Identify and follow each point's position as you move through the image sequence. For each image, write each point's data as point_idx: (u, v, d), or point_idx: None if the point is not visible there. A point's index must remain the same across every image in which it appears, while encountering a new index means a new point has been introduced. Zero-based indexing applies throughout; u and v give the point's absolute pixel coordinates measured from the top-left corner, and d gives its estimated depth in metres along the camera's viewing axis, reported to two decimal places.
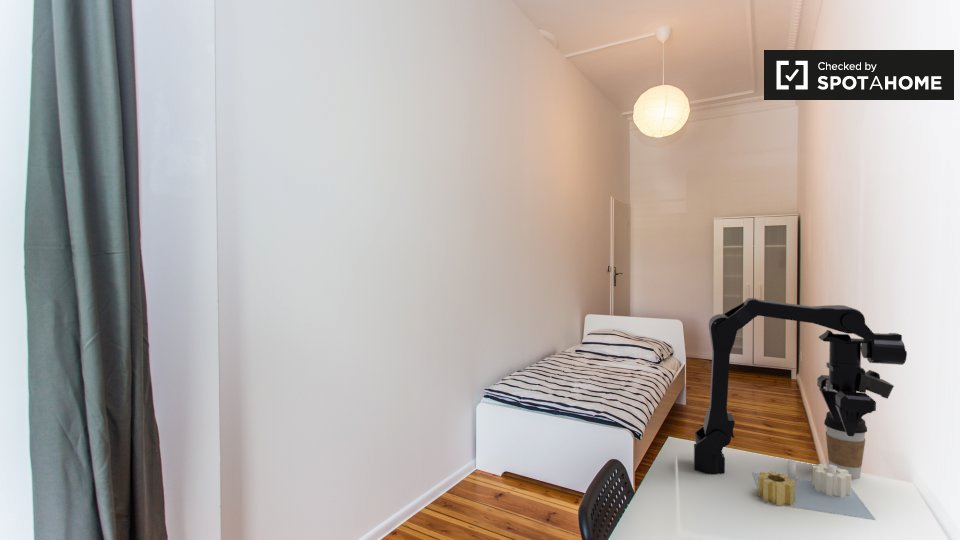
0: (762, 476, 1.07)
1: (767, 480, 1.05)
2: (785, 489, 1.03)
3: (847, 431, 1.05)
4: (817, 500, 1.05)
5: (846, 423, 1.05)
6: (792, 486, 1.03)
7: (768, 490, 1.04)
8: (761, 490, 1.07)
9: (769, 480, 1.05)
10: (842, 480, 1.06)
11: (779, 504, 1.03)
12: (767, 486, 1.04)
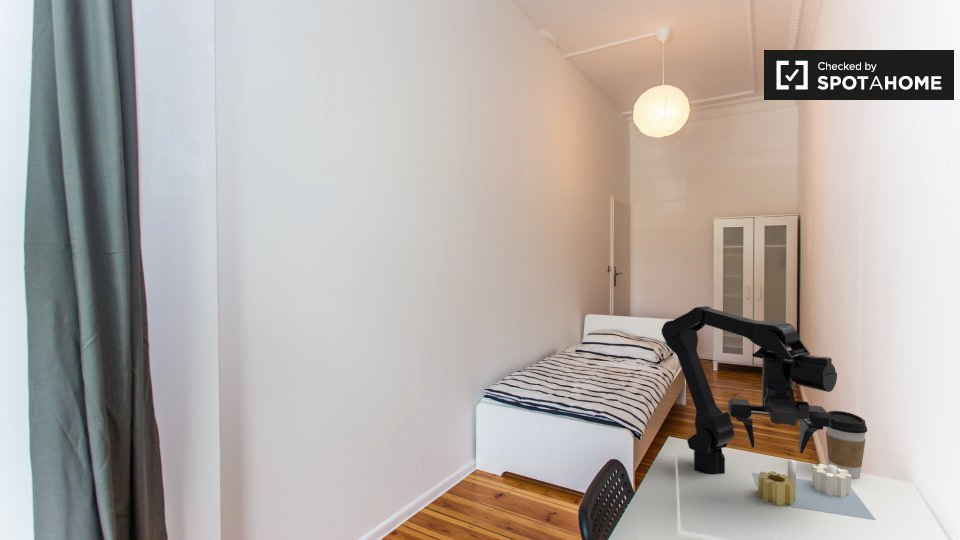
0: (762, 476, 1.07)
1: (767, 480, 1.05)
2: (785, 489, 1.03)
3: None
4: (817, 500, 1.05)
5: None
6: (792, 486, 1.03)
7: (768, 490, 1.04)
8: (761, 490, 1.07)
9: (769, 480, 1.05)
10: (842, 480, 1.06)
11: (779, 504, 1.03)
12: (767, 486, 1.04)
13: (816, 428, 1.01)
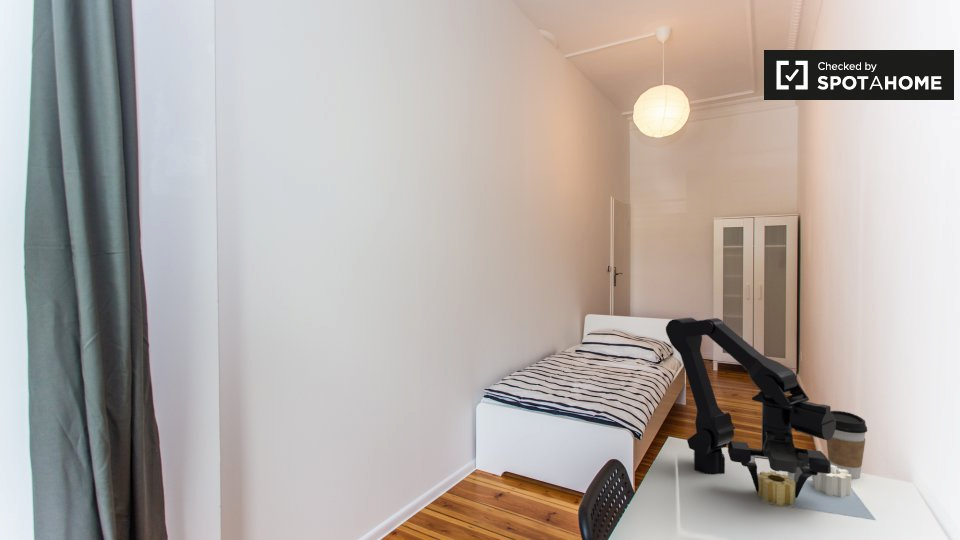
0: (762, 476, 1.07)
1: (767, 480, 1.05)
2: (785, 489, 1.03)
3: (754, 484, 1.08)
4: (817, 500, 1.05)
5: (751, 475, 1.09)
6: (792, 486, 1.03)
7: (768, 490, 1.04)
8: (761, 490, 1.07)
9: (769, 480, 1.05)
10: (842, 480, 1.06)
11: (779, 504, 1.03)
12: (767, 486, 1.04)
13: (810, 474, 1.01)
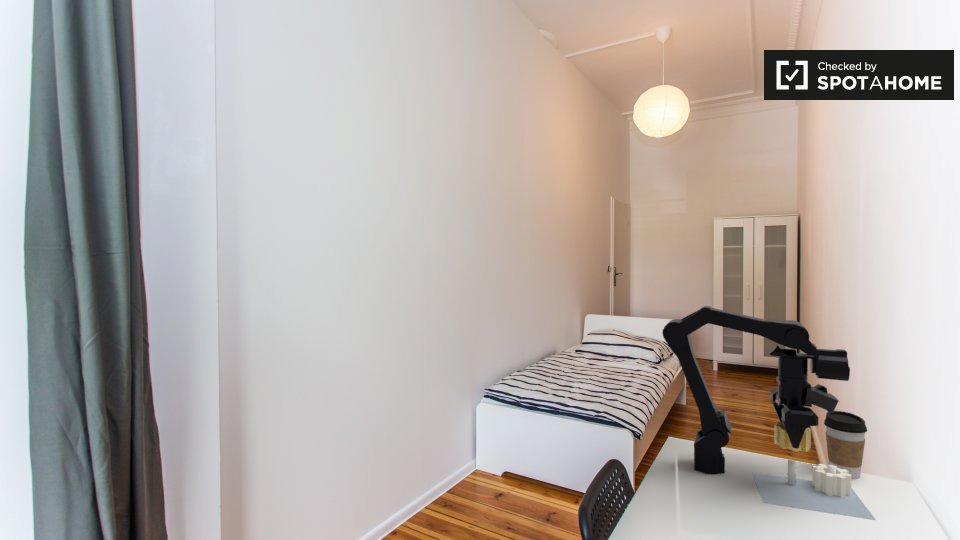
0: None
1: None
2: None
3: (792, 443, 1.08)
4: (817, 500, 1.05)
5: (791, 435, 1.08)
6: None
7: None
8: None
9: None
10: (842, 480, 1.06)
11: None
12: (808, 435, 1.09)
13: None
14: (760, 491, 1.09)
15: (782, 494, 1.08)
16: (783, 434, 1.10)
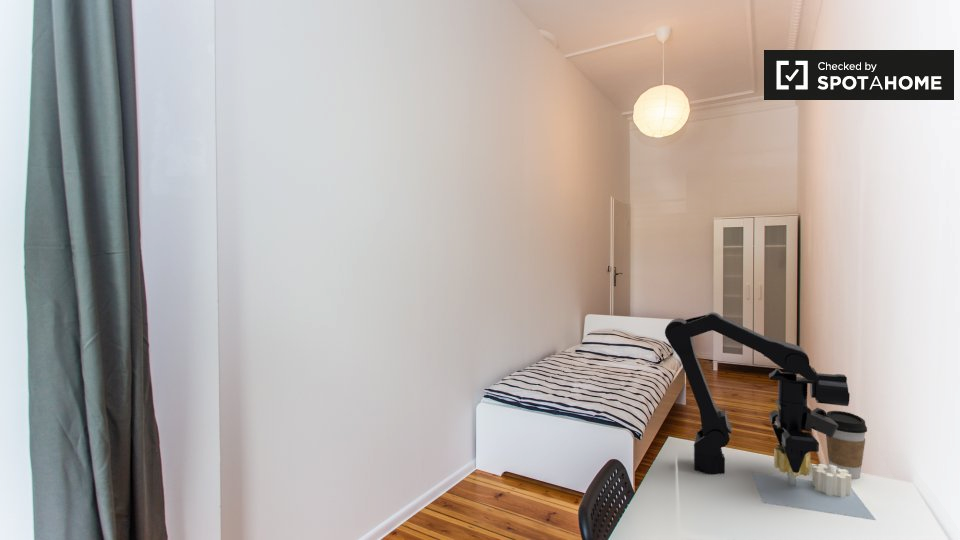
0: None
1: None
2: None
3: (792, 468, 1.09)
4: (817, 500, 1.05)
5: (791, 460, 1.08)
6: None
7: None
8: None
9: None
10: (842, 480, 1.06)
11: None
12: (808, 459, 1.09)
13: None
14: (760, 491, 1.09)
15: (782, 494, 1.08)
16: (783, 458, 1.10)
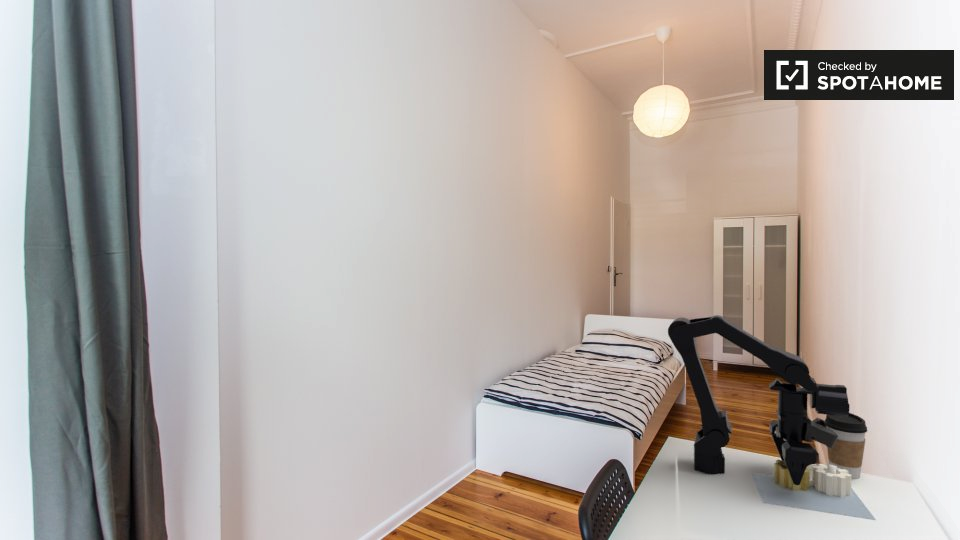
0: None
1: None
2: None
3: (793, 480, 1.08)
4: (817, 500, 1.05)
5: (792, 472, 1.07)
6: None
7: None
8: None
9: None
10: (842, 480, 1.06)
11: None
12: (808, 475, 1.09)
13: None
14: (760, 491, 1.09)
15: (782, 494, 1.08)
16: (783, 473, 1.11)
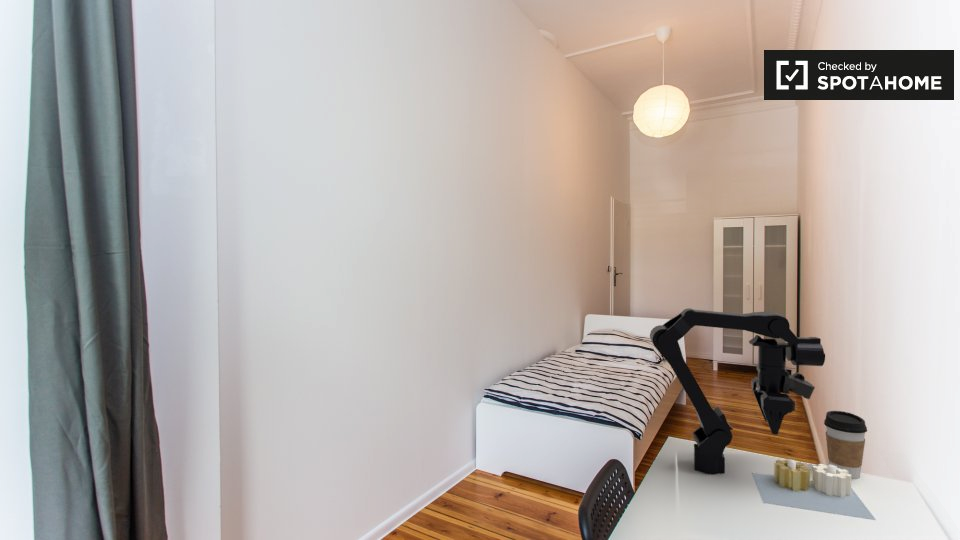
0: (794, 470, 1.10)
1: (802, 470, 1.10)
2: None
3: (771, 430, 1.12)
4: (817, 500, 1.05)
5: (770, 422, 1.12)
6: None
7: None
8: None
9: (801, 469, 1.10)
10: (842, 480, 1.06)
11: None
12: (808, 475, 1.09)
13: None
14: (760, 491, 1.09)
15: (782, 494, 1.08)
16: (783, 473, 1.11)
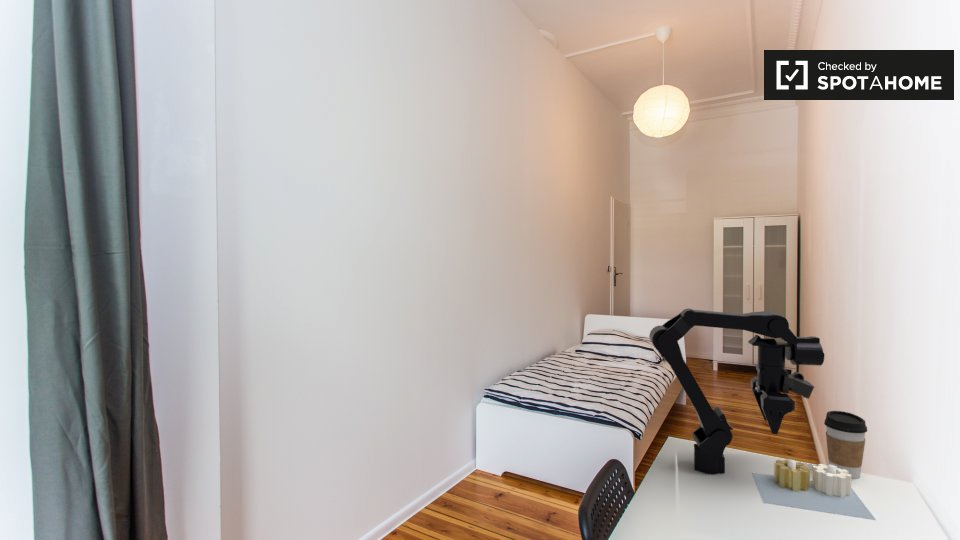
0: (794, 470, 1.10)
1: (802, 470, 1.10)
2: None
3: (771, 429, 1.12)
4: (817, 500, 1.05)
5: (770, 422, 1.12)
6: None
7: None
8: None
9: (801, 469, 1.10)
10: (842, 480, 1.06)
11: None
12: (808, 475, 1.09)
13: None
14: (760, 491, 1.09)
15: (782, 494, 1.08)
16: (783, 473, 1.11)
